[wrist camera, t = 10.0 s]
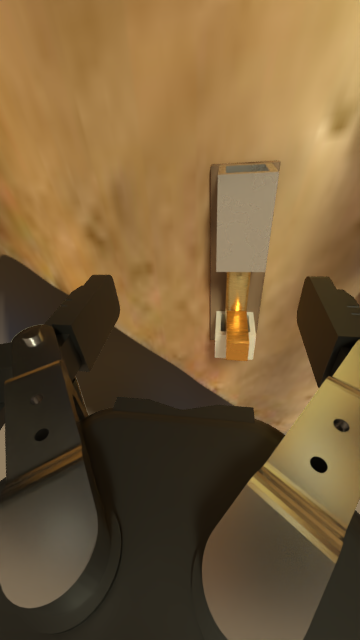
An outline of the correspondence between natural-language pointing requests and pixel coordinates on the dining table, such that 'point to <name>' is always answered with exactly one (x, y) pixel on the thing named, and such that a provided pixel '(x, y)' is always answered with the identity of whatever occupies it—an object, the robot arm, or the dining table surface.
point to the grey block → (245, 216)
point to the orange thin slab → (237, 316)
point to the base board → (221, 277)
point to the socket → (221, 335)
